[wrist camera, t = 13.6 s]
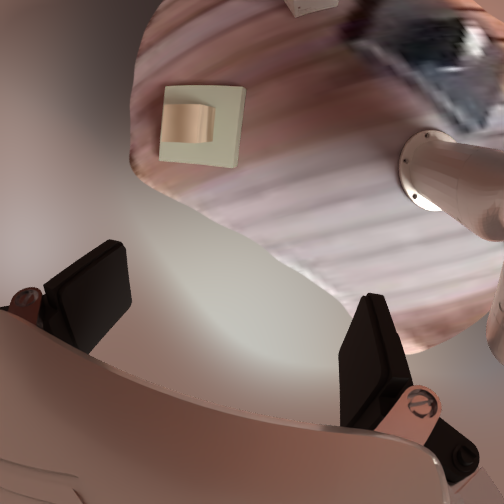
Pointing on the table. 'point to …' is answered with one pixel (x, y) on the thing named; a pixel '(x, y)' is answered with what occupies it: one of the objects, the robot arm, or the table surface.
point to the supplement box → (309, 6)
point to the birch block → (188, 123)
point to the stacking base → (225, 125)
